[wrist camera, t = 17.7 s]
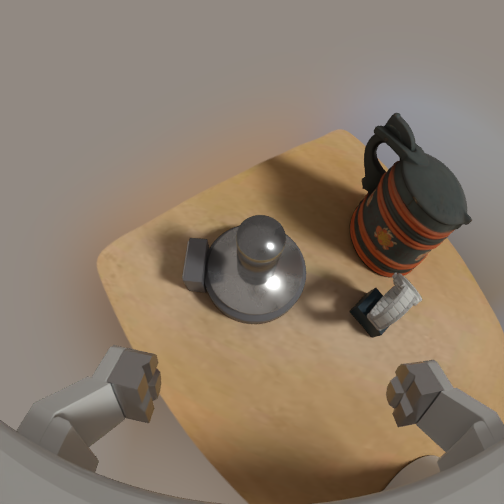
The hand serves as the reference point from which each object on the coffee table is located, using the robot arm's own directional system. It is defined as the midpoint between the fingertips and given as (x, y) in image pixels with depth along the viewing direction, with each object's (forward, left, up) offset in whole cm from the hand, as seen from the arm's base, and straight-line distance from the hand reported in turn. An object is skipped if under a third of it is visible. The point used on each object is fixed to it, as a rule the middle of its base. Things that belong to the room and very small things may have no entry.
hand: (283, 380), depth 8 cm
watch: (+8, -18, -29) cm, 35 cm away
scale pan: (+13, 0, -26) cm, 29 cm away
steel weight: (+13, 0, -25) cm, 28 cm away
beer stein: (+23, -21, -29) cm, 43 cm away
